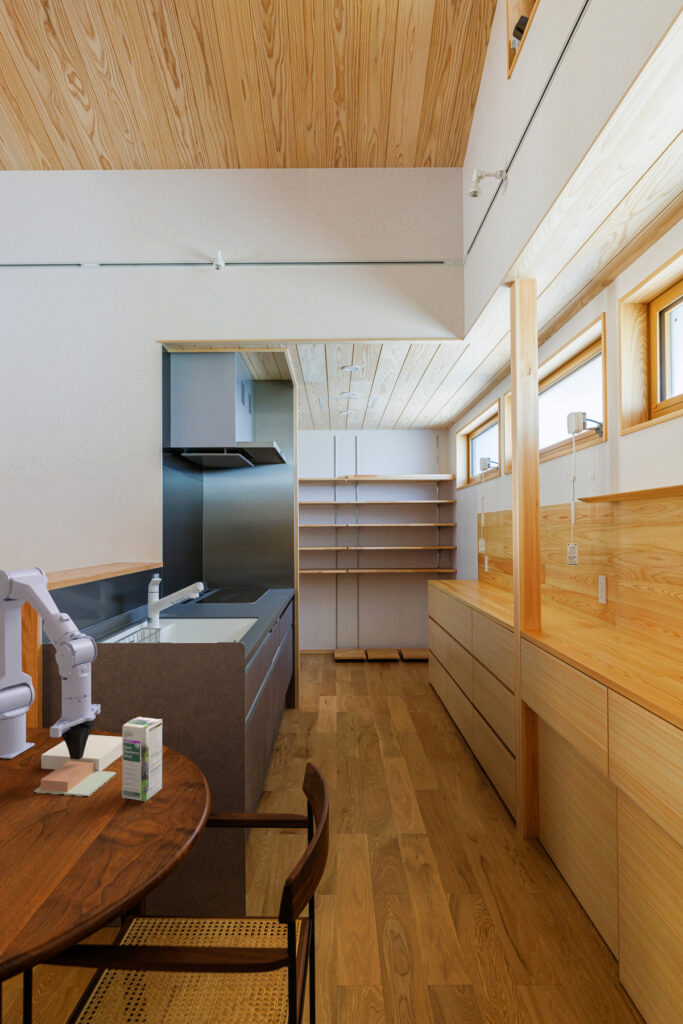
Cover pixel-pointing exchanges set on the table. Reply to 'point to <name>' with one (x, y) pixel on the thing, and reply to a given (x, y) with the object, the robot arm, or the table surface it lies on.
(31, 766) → the table surface
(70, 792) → the mat
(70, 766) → the tile
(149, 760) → the syrup box
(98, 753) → the white flat block
